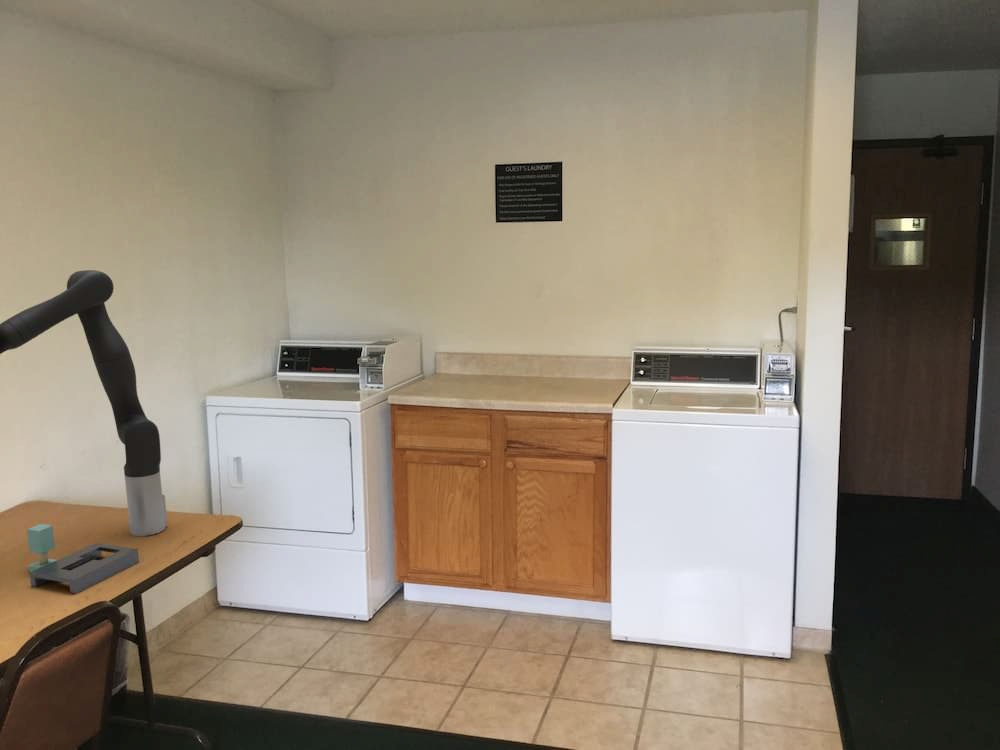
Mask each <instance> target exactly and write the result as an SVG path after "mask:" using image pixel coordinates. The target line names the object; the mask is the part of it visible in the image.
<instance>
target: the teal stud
mask: <svg viewBox="0 0 1000 750" xmlns="http://www.w3.org/2000/svg"><path fill="white" fill-rule="evenodd" d="M26 531H27V540H28V547H29V549H28V550H29V552H30V553H33V554H34V553H35V554H38V561H36V562H32V563H31V564H29V565H27V566H28V572H31V571H34V570H36V569H38V568H41V567H43V566H45V565H47V564H50V563H52V562H54V561H56V560H57V559H53V558H49V557H48V556H49V554H48V552H50V551H52V550H54V549H55V548H56V543H55V535H54V527H53V525H50V524H43V523H39V524H38V525H34V526H32V527H30V528H27V529H26Z"/></svg>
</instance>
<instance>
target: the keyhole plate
mask: <svg viewBox="0 0 1000 750" xmlns="http://www.w3.org/2000/svg"><path fill="white" fill-rule="evenodd" d="M102 552H108V553H112V554H110V555H108V556H107V557H105V558H102V559H99V558H101V557H103V556H102ZM139 557H140V556H139V549H138V548H133V547H128V546H127V547H125V546H120V545H113V544H107V543H106V544H105V543H99V542H95V543H92V544H90V545H88V546H86V547H83V548H81V549H79V550H77V551H74V552H72V553H70V554H68V555H65V556H63V557H61V558H59V559H55V560H56V561H54V562H52V563H50V564H47V565H45V566H43V567H41V568H38V569H36V570H34V571H32V572H31V571H29V578H30V586H31V587H34V588H35V587H39V586H40V585H43V584H45V583H47V582H49V581H55V582H61V583H66V584H68V585H69V593H70V594H74V595H76V594H78V593H80V592H82V591H84V590H86V589H88V588H90V587H92V586H95V585H96V584H99V583H100V582H102V581H104V580H106V579H108V578H111V577H112V576H114V575H116V574H118V573H120V572H122V571H124V570H126V569H128V568H130V567H132V566H134V565H136V564H138V563H140V559H139ZM98 559H99V560H98Z"/></svg>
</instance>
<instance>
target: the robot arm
mask: <svg viewBox="0 0 1000 750" xmlns="http://www.w3.org/2000/svg"><path fill="white" fill-rule="evenodd" d="M113 282H114V281H113V280H112V279H111V277H110V276H109V275H108V274H107V273H105V272H103V271H100V270H94V269H91V270H90V269H89V270H87V269H85V270H78V271H75V272H73V273H72V274H70V276H69V277H68V279H67V283H66V290H64V291H63V292H61V293H59V294H58V295H55V296H54V297H52V298H49V299H47V300H45V301H43V302H40V303H38V304H36V305H33V306H30V307H28V308H26V309H23V310H22V311H20V312H18V313H16V314H15V315H13V316H11V317H9V318H8V319H6V320H4V321H3V322H1V323H0V355H1V354H3V353H5V352H6V351H9V350H15V349H18V348H20V347H22V346H24V345H25V344H27V343H28V342H30V341H32V340H33V339H35V338H37V337H39V335H42V334H44V333H45V332H47V331H48V330H51V328H53V327H55V326H56V325H59V324H60V323H62V322H64V321H65V320H67V319H69V318H71V317H73V316H75V315H77V316H78V319H79V321H80V323H81V326H82V329H83V332H84V335H85V338H86V341H87V345H88V347H89V350H90V353H91V357H92V359H93V363H94V366H95V368H96V372H97V375H98V376H99V379H100V382H101V385H102V387H103V389H104V392H105V394H106V396H107V398H108V400H109V402H110V406H111V409H112V414H113V417H114V422H115V427H116V432H117V436H118V439H119V440H120V442H121V443H122V445H124V450H125V451H124V452H125V453H124V454H125V464H124V466H123V471H124V482H125V483H124V484H125V493H126V501H127V504H126V505H127V512H128V513H127V514H128V522H129V524H128V525H129V533H130V534H131V536H135V537H147V536H152V535H156V533H157V534H159V533H162V532H163V531H165V529H166V528H167V527H168V526H169V525H168V518H167V506H166V496H165V494H163V490H162V480H161V478H162V477H161V467H160V466H161V465H160V464H161V460H162V455H161V454H162V453H161V452H162V451H161V437H160V431H159V429H158V426H157V424H155V423H154V422H153V421H151V420H150V419H148V417H147V416H146V413H145V412H144V408H143V407H142V404H141V402H140V399H139V396H138V389H137V387H138V386H137V375H136V374H137V373H136V369H135V364H134V362H133V359H132V356H131V353H130V352H131V351H130V350H129V347H128V345H127V343H126V342H125V340H124V338H123V336H122V335H121V334H120V332H119V330H118V329H117V328H116V327H115V325H114V324H113V322H112V321H111V318H110V317H109V314H108V311H107V307H106V304H105V303H106V302H107V301H108V300H109V299H110V298H111V297H112V296H113V294H114V283H113ZM166 526H167V527H166ZM161 531H162V532H161Z"/></svg>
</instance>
